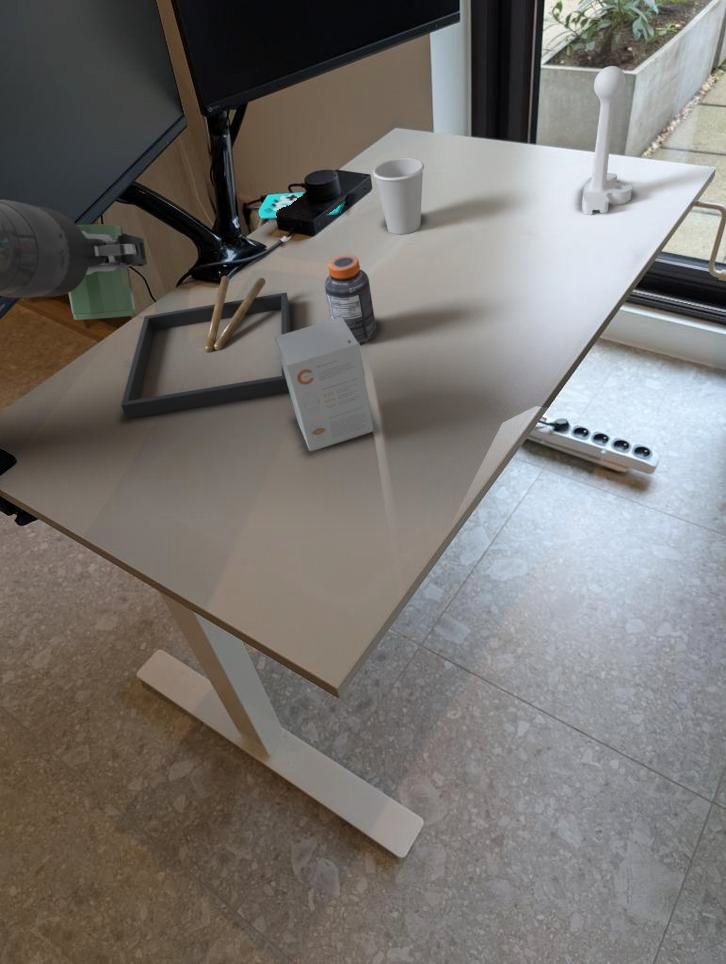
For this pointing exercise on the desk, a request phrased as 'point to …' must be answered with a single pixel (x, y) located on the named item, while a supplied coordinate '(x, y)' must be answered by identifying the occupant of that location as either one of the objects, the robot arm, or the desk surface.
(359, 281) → the pill bottle
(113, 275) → the green cup
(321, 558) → the desk surface
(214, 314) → the stick
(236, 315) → the stick
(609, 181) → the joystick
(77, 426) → the desk surface
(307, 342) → the small box
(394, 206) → the dixie cup
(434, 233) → the desk surface
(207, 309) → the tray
